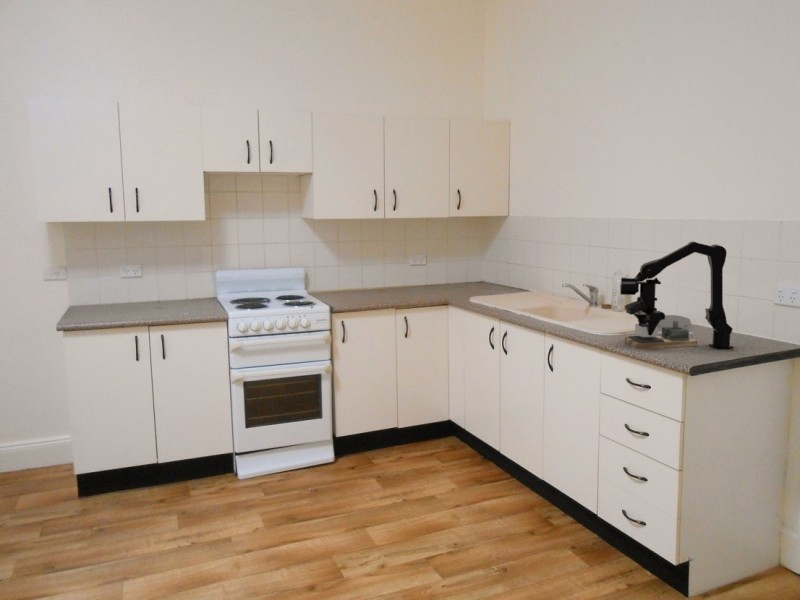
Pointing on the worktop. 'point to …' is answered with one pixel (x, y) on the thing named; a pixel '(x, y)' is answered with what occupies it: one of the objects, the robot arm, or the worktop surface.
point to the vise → (667, 338)
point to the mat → (645, 339)
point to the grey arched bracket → (682, 323)
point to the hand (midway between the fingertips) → (646, 333)
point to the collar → (644, 330)
